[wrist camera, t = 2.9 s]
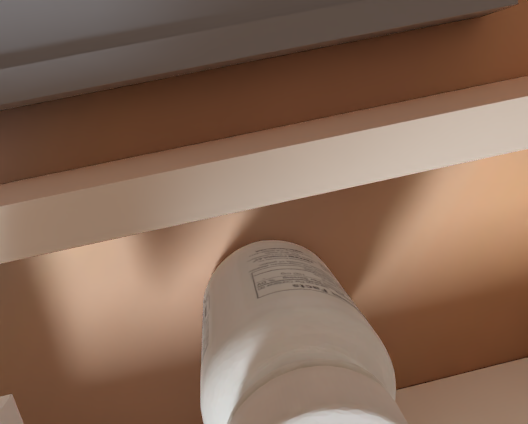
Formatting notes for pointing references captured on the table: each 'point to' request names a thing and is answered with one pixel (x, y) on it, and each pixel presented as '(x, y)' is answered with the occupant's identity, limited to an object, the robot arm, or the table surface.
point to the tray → (184, 37)
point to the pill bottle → (289, 345)
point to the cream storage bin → (286, 189)
